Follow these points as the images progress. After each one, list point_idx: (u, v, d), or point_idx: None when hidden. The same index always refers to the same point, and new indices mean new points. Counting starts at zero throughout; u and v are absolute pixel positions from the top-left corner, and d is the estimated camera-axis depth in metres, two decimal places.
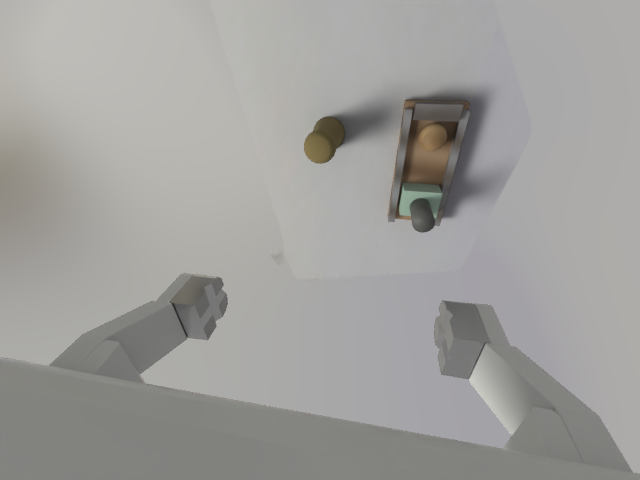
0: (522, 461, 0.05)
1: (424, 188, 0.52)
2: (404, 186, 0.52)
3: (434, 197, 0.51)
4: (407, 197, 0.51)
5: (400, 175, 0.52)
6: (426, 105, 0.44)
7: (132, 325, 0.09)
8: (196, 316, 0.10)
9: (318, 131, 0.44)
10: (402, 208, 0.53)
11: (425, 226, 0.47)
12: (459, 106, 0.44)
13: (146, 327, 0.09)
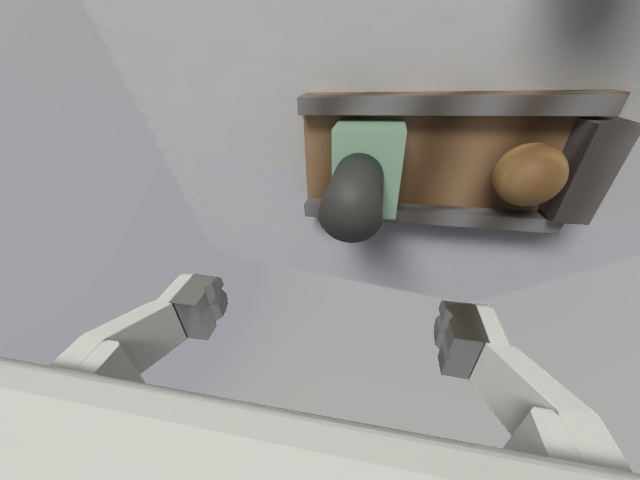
0: (522, 461, 0.05)
1: None
2: None
3: (385, 205, 0.22)
4: (385, 143, 0.19)
5: (433, 111, 0.20)
6: (627, 150, 0.18)
7: (132, 325, 0.09)
8: (196, 316, 0.10)
9: None
10: (352, 134, 0.19)
11: (338, 221, 0.16)
12: (588, 218, 0.21)
13: (146, 327, 0.09)
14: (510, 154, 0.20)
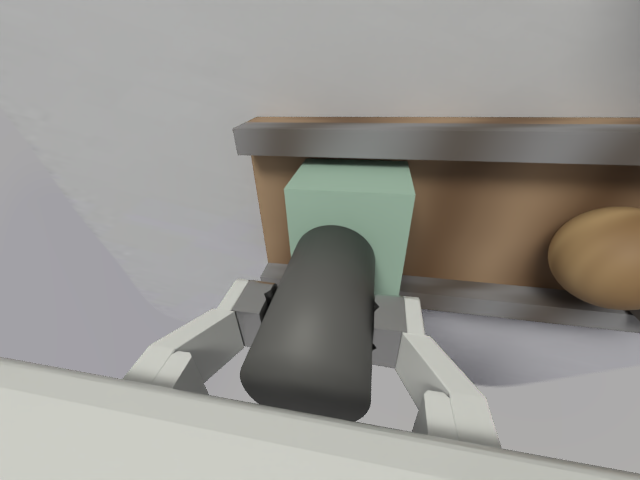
0: (522, 461, 0.05)
1: None
2: None
3: None
4: (378, 212, 0.11)
5: (457, 154, 0.12)
6: None
7: (199, 335, 0.08)
8: (258, 324, 0.09)
9: None
10: (319, 197, 0.11)
11: (282, 396, 0.08)
12: None
13: (211, 336, 0.09)
14: (588, 227, 0.12)
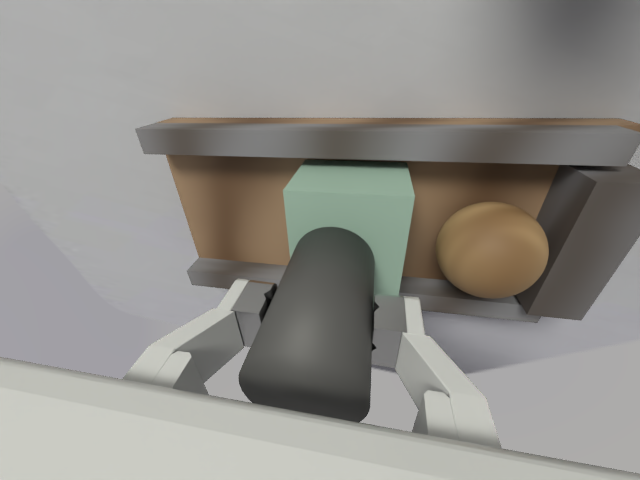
0: (522, 461, 0.05)
1: None
2: None
3: None
4: (377, 214, 0.11)
5: (336, 153, 0.13)
6: None
7: (199, 335, 0.08)
8: (258, 324, 0.09)
9: None
10: (318, 198, 0.11)
11: (281, 399, 0.08)
12: (581, 312, 0.14)
13: (210, 336, 0.09)
14: (457, 221, 0.12)
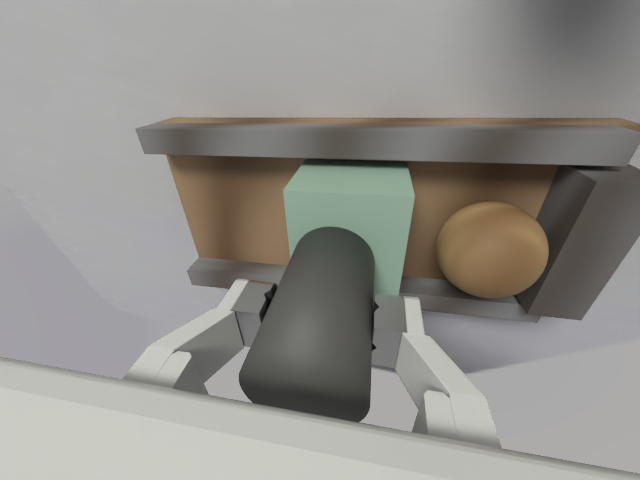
0: (522, 461, 0.05)
1: None
2: None
3: None
4: (377, 214, 0.11)
5: (337, 153, 0.13)
6: None
7: (198, 335, 0.08)
8: (258, 324, 0.09)
9: None
10: (319, 198, 0.11)
11: (281, 399, 0.08)
12: (581, 312, 0.14)
13: (210, 336, 0.09)
14: (457, 221, 0.12)
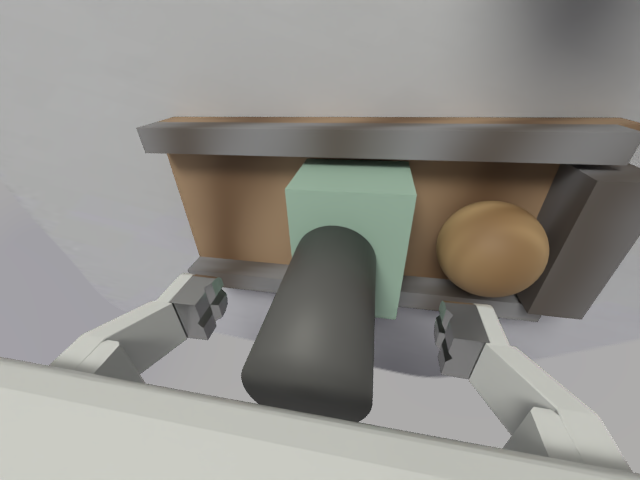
0: (522, 461, 0.05)
1: None
2: None
3: (378, 300, 0.13)
4: (379, 213, 0.11)
5: (337, 152, 0.13)
6: None
7: (132, 325, 0.09)
8: (196, 316, 0.10)
9: None
10: (320, 197, 0.11)
11: (284, 397, 0.08)
12: (581, 311, 0.14)
13: (146, 327, 0.09)
14: (458, 220, 0.12)
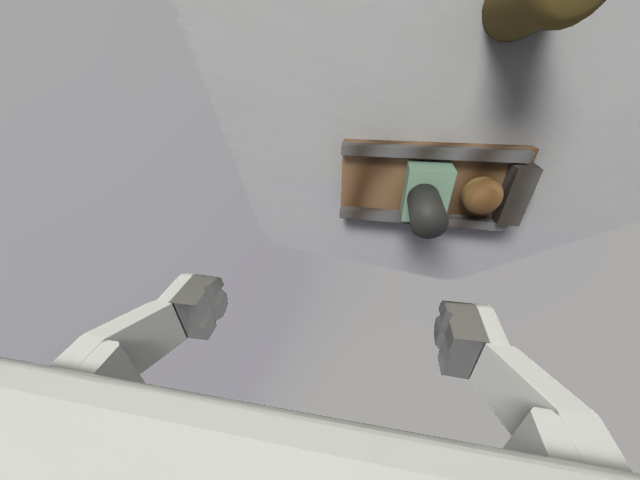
0: (522, 461, 0.05)
1: None
2: None
3: None
4: (443, 178, 0.31)
5: (425, 156, 0.33)
6: (535, 183, 0.31)
7: (132, 325, 0.09)
8: (196, 316, 0.10)
9: None
10: (422, 172, 0.31)
11: (422, 226, 0.28)
12: (518, 222, 0.34)
13: (146, 327, 0.09)
14: (470, 183, 0.33)
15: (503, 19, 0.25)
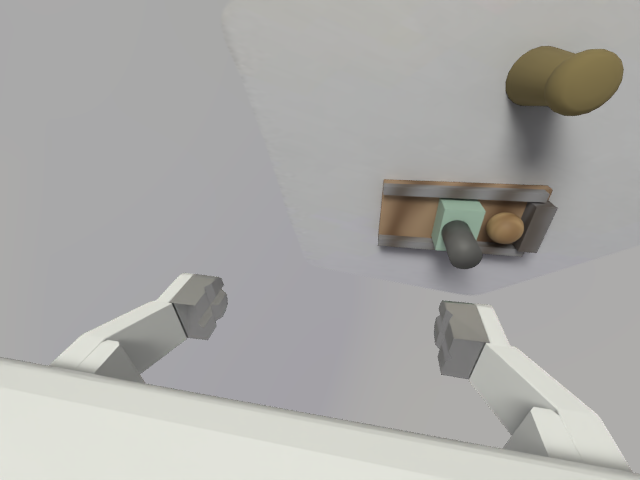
0: (522, 461, 0.05)
1: None
2: None
3: None
4: (473, 216, 0.37)
5: (456, 196, 0.39)
6: (550, 219, 0.37)
7: (132, 325, 0.09)
8: (196, 316, 0.10)
9: None
10: (456, 211, 0.37)
11: (459, 259, 0.34)
12: (536, 249, 0.40)
13: (146, 327, 0.09)
14: (495, 218, 0.39)
15: (525, 95, 0.31)
